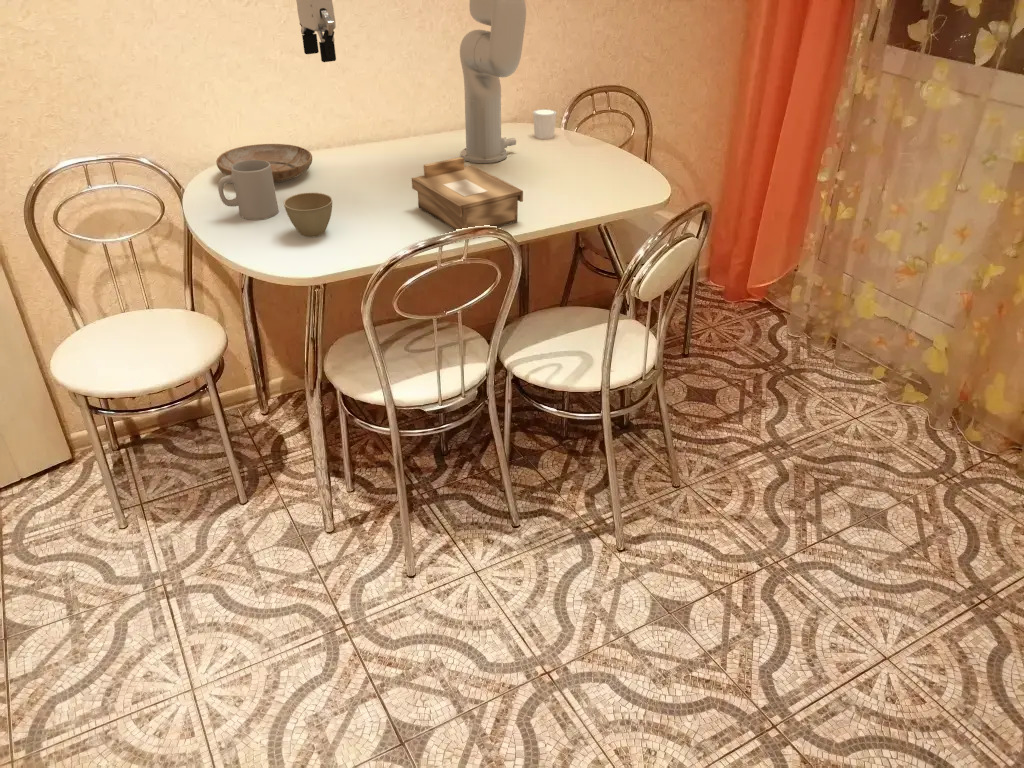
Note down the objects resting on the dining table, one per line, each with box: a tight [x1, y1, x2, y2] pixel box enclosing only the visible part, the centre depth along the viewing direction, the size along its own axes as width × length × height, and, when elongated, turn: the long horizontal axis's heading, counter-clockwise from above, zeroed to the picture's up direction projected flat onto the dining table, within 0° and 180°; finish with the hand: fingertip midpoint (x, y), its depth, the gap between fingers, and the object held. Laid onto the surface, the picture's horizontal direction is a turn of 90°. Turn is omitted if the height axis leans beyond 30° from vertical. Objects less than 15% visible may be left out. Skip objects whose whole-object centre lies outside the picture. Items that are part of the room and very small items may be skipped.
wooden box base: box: [417, 192, 519, 231], centre depth 174 cm, size 14×20×6 cm
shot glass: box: [532, 108, 558, 140], centre depth 224 cm, size 7×7×7 cm
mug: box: [217, 160, 279, 221], centre depth 172 cm, size 12×8×11 cm
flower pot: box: [283, 192, 333, 238], centre depth 165 cm, size 10×10×7 cm
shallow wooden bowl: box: [215, 143, 313, 184], centre depth 196 cm, size 23×24×5 cm
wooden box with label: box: [410, 156, 524, 217], centre depth 171 cm, size 16×21×5 cm
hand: (320, 57), depth 172 cm, fingers open, 9 cm apart
